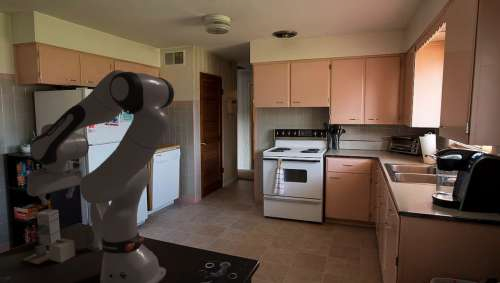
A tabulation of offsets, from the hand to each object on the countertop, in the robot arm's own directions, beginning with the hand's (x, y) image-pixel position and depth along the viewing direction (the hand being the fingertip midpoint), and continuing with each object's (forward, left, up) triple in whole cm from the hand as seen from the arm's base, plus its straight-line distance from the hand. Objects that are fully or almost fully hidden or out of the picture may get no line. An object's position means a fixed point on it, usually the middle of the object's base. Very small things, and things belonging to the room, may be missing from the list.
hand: (57, 201), depth 114 cm
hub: (+8, +3, -23) cm, 24 cm away
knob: (0, 0, -23) cm, 23 cm away
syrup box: (+17, -7, -23) cm, 29 cm away
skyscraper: (-6, -13, -24) cm, 28 cm away
